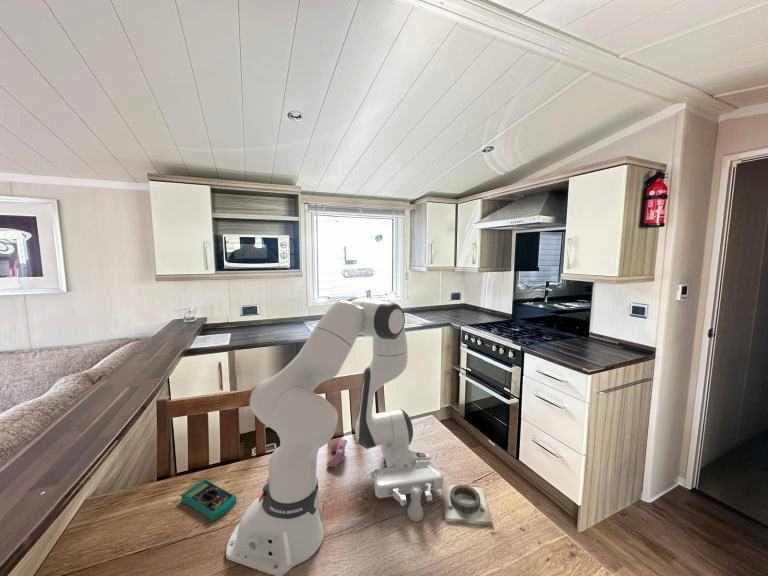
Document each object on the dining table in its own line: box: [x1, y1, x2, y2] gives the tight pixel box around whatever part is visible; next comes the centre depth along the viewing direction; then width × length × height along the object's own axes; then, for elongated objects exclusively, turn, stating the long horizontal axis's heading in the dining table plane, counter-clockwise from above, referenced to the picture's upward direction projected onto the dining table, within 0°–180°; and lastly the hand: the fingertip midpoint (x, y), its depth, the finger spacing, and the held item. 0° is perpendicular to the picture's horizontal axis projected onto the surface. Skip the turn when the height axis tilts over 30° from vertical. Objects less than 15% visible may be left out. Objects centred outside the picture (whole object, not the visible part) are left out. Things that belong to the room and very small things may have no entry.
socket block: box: [441, 484, 493, 526], centre depth 88 cm, size 12×12×3 cm
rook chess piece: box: [406, 485, 424, 523], centre depth 84 cm, size 4×4×8 cm
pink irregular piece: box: [326, 438, 348, 468], centre depth 107 cm, size 10×5×7 cm, turn 1°
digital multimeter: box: [181, 478, 237, 522], centre depth 88 cm, size 7×15×3 cm, turn 63°
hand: (416, 501), depth 83 cm, fingers open, 6 cm apart
